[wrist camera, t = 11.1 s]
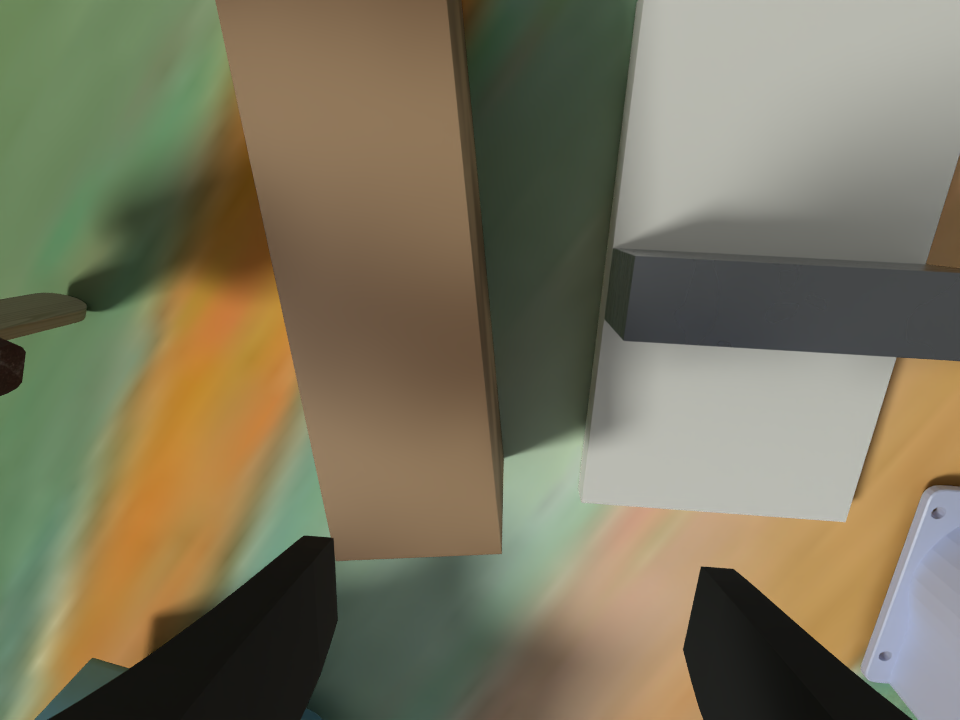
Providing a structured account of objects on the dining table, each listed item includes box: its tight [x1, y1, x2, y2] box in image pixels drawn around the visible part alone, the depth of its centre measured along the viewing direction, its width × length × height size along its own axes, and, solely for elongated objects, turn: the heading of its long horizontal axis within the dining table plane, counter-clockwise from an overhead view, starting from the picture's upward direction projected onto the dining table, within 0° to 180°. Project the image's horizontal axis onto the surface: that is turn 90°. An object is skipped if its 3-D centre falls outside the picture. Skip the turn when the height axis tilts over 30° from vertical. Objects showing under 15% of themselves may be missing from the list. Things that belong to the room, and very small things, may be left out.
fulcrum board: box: [578, 0, 960, 522], centre depth 15 cm, size 17×10×4 cm, turn 177°
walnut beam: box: [215, 0, 504, 561], centre depth 15 cm, size 16×5×6 cm, turn 6°
